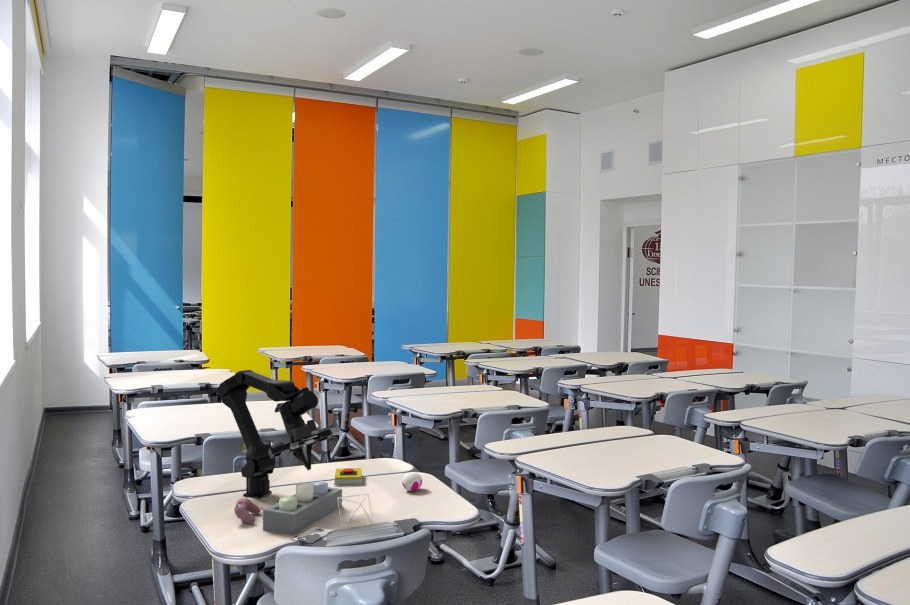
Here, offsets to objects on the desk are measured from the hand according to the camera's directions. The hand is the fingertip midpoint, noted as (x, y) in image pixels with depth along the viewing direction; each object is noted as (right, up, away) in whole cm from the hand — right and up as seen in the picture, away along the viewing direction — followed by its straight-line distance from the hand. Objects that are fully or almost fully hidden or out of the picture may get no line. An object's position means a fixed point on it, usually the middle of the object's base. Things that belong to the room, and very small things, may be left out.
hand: (309, 469), depth 205 cm
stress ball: (+30, -12, +20) cm, 38 cm away
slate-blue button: (+3, -9, 0) cm, 10 cm away
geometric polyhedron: (+15, -13, -12) cm, 23 cm away
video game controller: (-16, -12, -9) cm, 22 cm away
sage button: (-3, -10, -15) cm, 18 cm away
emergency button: (+7, -12, +31) cm, 34 cm away
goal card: (+5, -12, -21) cm, 25 cm away
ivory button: (0, -8, -7) cm, 11 cm away
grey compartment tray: (0, -12, -7) cm, 14 cm away
